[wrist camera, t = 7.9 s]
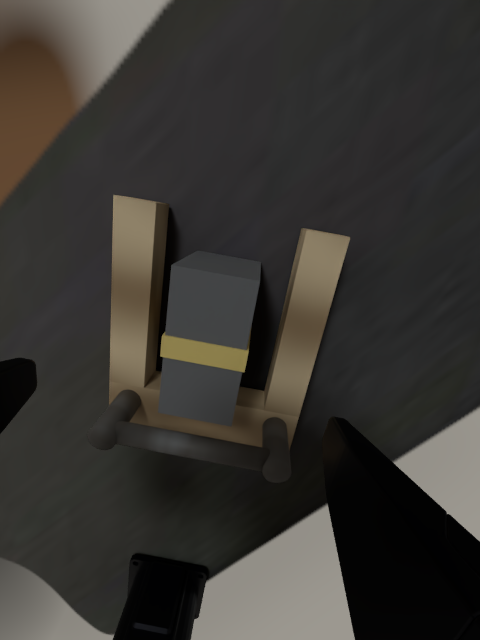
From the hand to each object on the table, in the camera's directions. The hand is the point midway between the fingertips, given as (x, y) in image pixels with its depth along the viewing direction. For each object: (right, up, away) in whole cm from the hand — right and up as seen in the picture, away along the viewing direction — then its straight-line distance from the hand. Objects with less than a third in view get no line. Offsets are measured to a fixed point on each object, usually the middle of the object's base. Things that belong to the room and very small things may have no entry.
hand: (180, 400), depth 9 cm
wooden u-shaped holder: (0, +1, +9) cm, 9 cm away
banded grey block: (+1, +3, +9) cm, 9 cm away
